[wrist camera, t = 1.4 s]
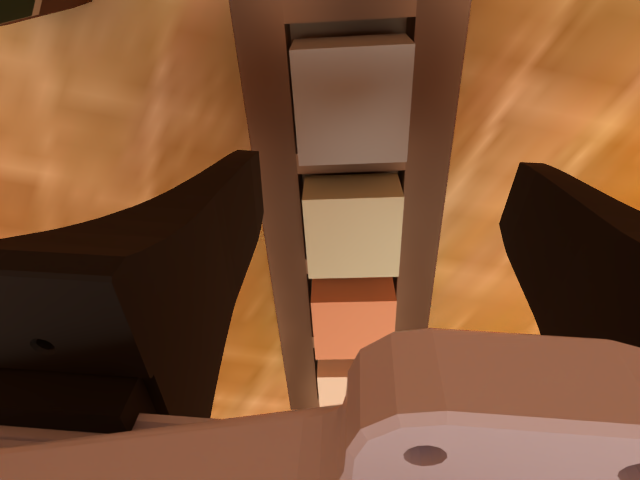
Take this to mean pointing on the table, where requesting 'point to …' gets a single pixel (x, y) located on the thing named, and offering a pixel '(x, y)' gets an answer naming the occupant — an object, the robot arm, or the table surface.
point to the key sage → (353, 225)
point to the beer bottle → (33, 8)
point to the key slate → (352, 98)
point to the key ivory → (332, 380)
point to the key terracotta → (351, 314)
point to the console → (288, 177)
